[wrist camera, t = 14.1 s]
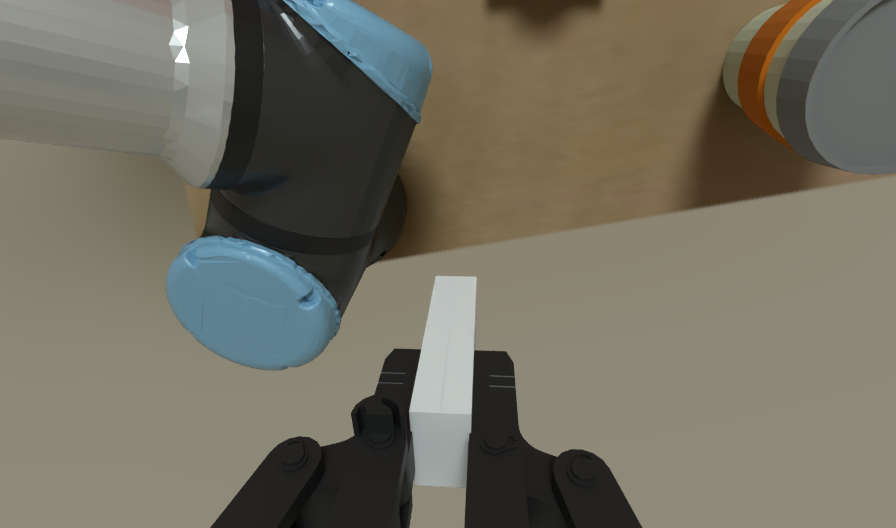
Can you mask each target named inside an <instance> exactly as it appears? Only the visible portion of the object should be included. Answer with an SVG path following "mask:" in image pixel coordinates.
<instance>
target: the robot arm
mask: <svg viewBox="0 0 896 528" xmlns="http://www.w3.org/2000/svg"><path fill="white" fill-rule="evenodd" d="M431 77H432V62H431V58H430V55H429V53H428V51H427V49H426V48H425V47H424V45H423V44H422V43H421V42H419V41H418V40H416V39H415V38H413V37H412V36H410V35H409V34H407V33H405V32H404V31H402V30H400V29H399V28H397V27H395V26H394V25H392V24H391V23H389V22H387V21H386V20H384V19H382V18H381V17H379V16H377V15H376V14H374V13H372V12H371V11H369V10H367V9H366V8H364V7H362V6H361V5H359V4H357V3H355V2H354V1H352V0H0V139H8V140H17V141H26V142H34V143H43V144H53V145H61V146H70V147H79V148H88V149H97V150H106V151H115V152H124V153H133V154H141V155H151V156H157V157H158V158H160V159H162V160H163V161H165V162H167V163H168V164H169V165H170V166H171V167H172V168H173V169H174V170H175V171H176V172H177V173H178V174H179V175H180V176H181V177H182V178H183V179H184V180H185V181H186V182H187V183H188V184H189V185H190V186H192V187H195V188H201V189H202V188H206V189H211V193H210V199H209V205H208V212H207V218H206V224H205V227H204V230H203V232H202V234H201V236H200V238H199V239H197V240H193V241H191V242H190V243H188V244H187V245H185V246H184V247H183V248H182V251H181V252H180V253H179V254H178V256H177V257H176V258H175V260H174V261H173V262H172V264H171V266H170V268H169V270H168V273H167V278H166V292H167V297H168V300H169V303H170V306H171V308H172V310H173V312H174V314H175V316H176V317H177V319H178V320H179V322H180V323H181V324H182V326H183V327H184V328H185V329H186V330H188V331H189V332H190V333H191V334H193V335H194V337H195V338H196V339H197V341H198V342H200V343H201V344H202V345H203V346H205V347H206V348H208V349H209V350H211V351H212V352H214V353H216V354H218V355H219V356H221V357H223V358H225V359H227V360H230V361H232V362H235V363H237V364H240V365H244V366H247V367H251V368H256V369H262V370H283V369H287V368H288V367H299V366H302V365H304V364H307V363H309V362H310V361H312V360H313V359H314V358H316V357H318V356H319V355H320V353H322V352H323V351H324V349H325V348H326V346H327V345H328V343H329V341H330V340H332V339H333V337H335V336H336V334H337V332H338V330H339V328H340V323H341V318H342V316H343V314H344V312H345V310H346V308H347V305H348V303H349V301H350V299H351V297H352V295H353V293H354V291H355V289H356V287H357V285H358V283H359V281H360V279H361V277H362V275H363V273H364V271H365V269H366V268H367V267H368V266H370V265H372V264H374V263H375V262H377V261H379V260H380V259H382V258H383V257H384V256H385V255H386V254H387V253H388V252H389V251H390V250H391V249H392V248H393V246H394V245H395V243H396V242H397V240H398V238H399V236H400V233H401V231H402V228H403V226H404V223H405V219H406V212H407V202H406V195H405V190H404V187H403V184H402V182H401V179H400V177H399V175H398V171H399V169H400V166H401V163H402V160H403V158H404V155H405V152H406V150H407V147H408V144H409V142H410V139H411V136H412V134H413V131H414V128H415V125H416V124H419V123H420V121H421V115H420V111H421V108H422V105H423V102H424V99H425V96H426V93H427V90H428V87H429V83H430V80H431ZM476 278H477V277H460V276H459V277H458V276H436V279H435V283H434V289H433V293H432V298H431V303H430V308H429V314H428V318H427V324H426V329H425V334H424V339H423V344H422V349H421V350H419V349H418V350H417V349H394V350H393V351H392V352H391V353H390V354H389V356H388V357H387V358H386V359H385V361H384V365H383V368H382V373H381V375H380V378H379V383H378V385H377V388H376V391H375V395H373V396H370V397H368V398H365V399H363V400H362V401H360V402H359V403H358V404H357V405H356V406H355V407H354V409H353V410H352V412H351V417H352V423H353V429H354V434H355V436H353V437H351V438H350V439H348V440H345V441H343V442H339V443H336V444H331V445H327V446H322V447H320V445H319V444H318V442H317V441H315V440H313V439H311V438H310V437H300V436H299V437H295V438H290V439H288V440H286V441H284V442H282V443H280V444H278V445H277V446H276V447H275V448H274V449H273V450H272V451H271V452H270V453H269V454H268V456H267V457H266V458H265V459H264V461H263V462H262V463H261V465H260V466H259V467H258V468H257V470H256V471H255V472H254V473H253V475H252V476H251V477H250V478H249V480H248V481H247V482H246V483H245V485H244V486H243V487H242V488H241V490H240V491H239V492H238V494H237V495H236V496H235V497H234V499H233V500H232V501H231V502H230V504H229V505H228V506H227V507H226V509H225V510H224V511H223V512H222V514H221V515H220V516H219V518H218V519H217V520H216V522H215V523H214V524H213V525H212V526H211V528H409V526H410V519H411V512H412V487H413V480H414V481H415V485H423V486H440V487H457V488H466V507H465V528H642V526H641V525H640V523H639V521H638V519H637V517H636V516H635V514H634V512H633V510H632V508H631V506H630V505H629V503H628V501H627V499H626V498H625V496H624V494H623V492H622V490H621V488H620V486H619V485H618V483H617V481H616V479H615V478H614V476H613V474H612V472H611V470H610V468H609V467H608V466H607V465H606V464H605V462H604V461H603V460H602V459H601V458H599V457H597V456H596V455H595V454H593V453H590V452H588V451H584V450H574V449H572V450H568V451H565V452H562V453H561V454H560V455H559V456H558V457H556V456H553V455H550V454H547V453H544V452H542V451H539V450H537V449H535V448H534V447H532V446H531V445H530V444H528V443H527V442H526V440H525V439H524V438H523V437H522V435H521V433H520V430H519V426H518V413H517V402H516V389H515V378H514V364H513V361H512V360H511V359H510V357H509V355H508V354H507V352H504V351H477V350H475V341H476V284H477V281H476V280H477V279H476Z"/></svg>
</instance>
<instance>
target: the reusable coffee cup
mask: <svg viewBox="0 0 896 528" xmlns="http://www.w3.org/2000/svg"><path fill="white" fill-rule="evenodd" d="M723 83H724V86H725V90H726V92H727V94H728V95H729V97H730V99H731V100H732V101H733V102H734V103H735V104H736V105H738V106H739V107H741V108H742V109H743V110H744V112H745V114H746V116H747V117H748V118H749V119H750V120H751V121H752V122H753V123H754V124H755V125H756V126H758V127H759V128H761V129H762V130H763V131H765V132H766V133H767V134H769V135H770V136H771V137H773V138H774V139H776V140H777V141H778V142H780V143H782V144H783V145H785V146H787V147H789V148H791V149H794V150H795V151H796V152H797V153H798V154H799V155H801V156H803V157H804V158H806V159H808V160H809V161H811V162H814V163H818V164H821V165H825V166H828V167H832V168H836V169H840V170H844V171H848V172H852V173H856V174H869V175H878V174H889V173H896V0H791V1H789V2H788V3H786V4H783V5H779V6H777V7H774V8H771V9H768V10H767V11H765V12H763V13H761V14H759V15H758V16H756V17H755V18H754V19H752V20H751V21H750V22H749V23H748V24H747V25H746V26H745V27H744V28H743V29H742V30H741V31H740V32H739V33H738V35H737V36H736V37H735V39H734V40H733V42H732V44H731V46H730V48H729V50H728V52H727V55H726V58H725V61H724V66H723Z"/></svg>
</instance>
